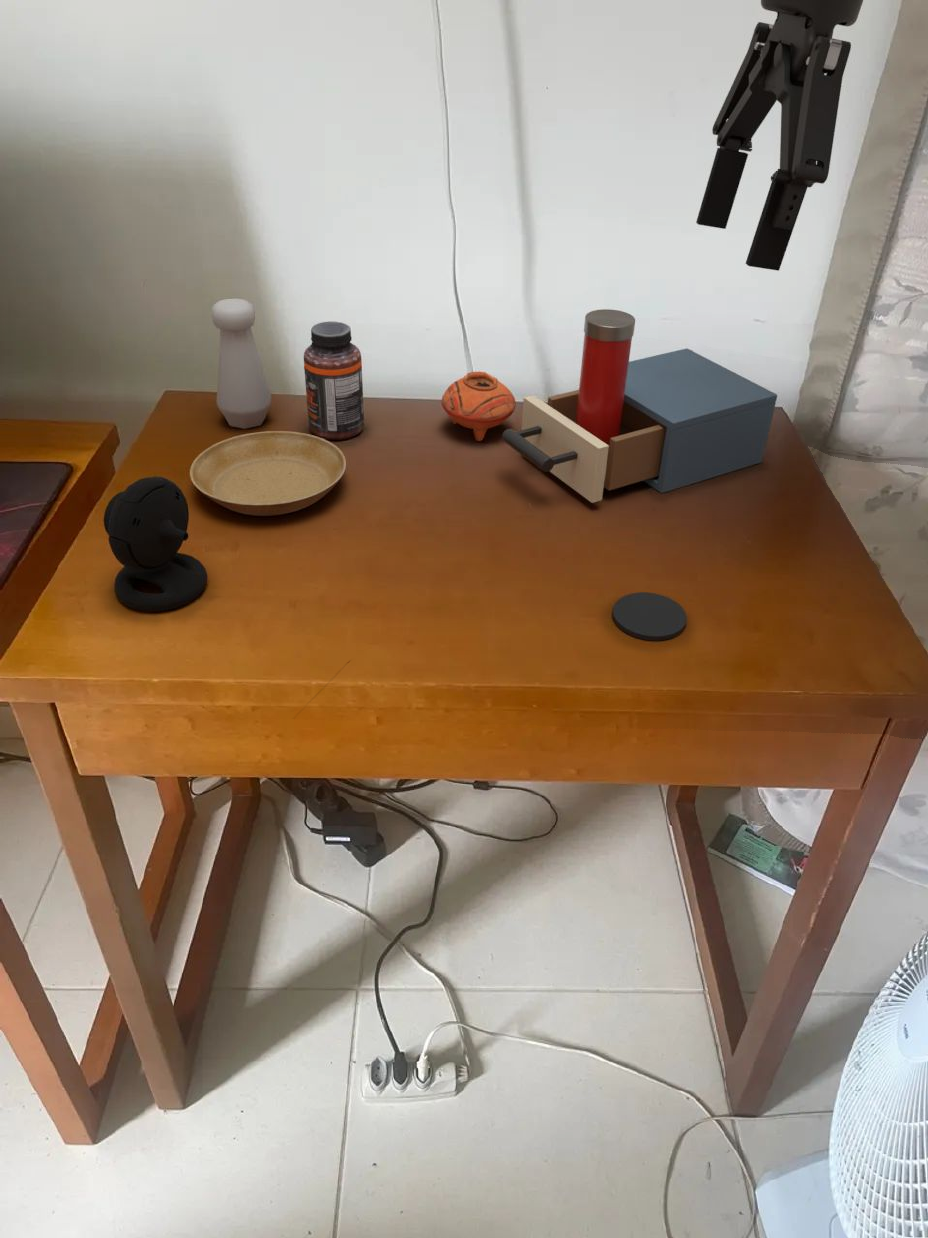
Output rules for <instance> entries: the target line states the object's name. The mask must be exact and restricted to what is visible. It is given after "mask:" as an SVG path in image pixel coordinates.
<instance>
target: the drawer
mask: <svg viewBox="0 0 928 1238" xmlns="http://www.w3.org/2000/svg"><path fill="white" fill-rule="evenodd" d="M578 394H579V389H575V390H572V391H568V392H564V393H563V392H562V393H559V394H554V395H551V396H548V397H547V403H546V402H545V401H543V400H541V399H540V398H538V396H535V395H534V394H533V395H527V396H524V397H523V403H522V415H521V416H522V418H521V430H516V431H515V430H514V429H512V428H507V429H505V430H504V431H503V432H502V434H501V439H502V441H503V442H504V443H505V444H507V446H509V447H511V448H512V449H513V450H514V451H516V452H517V453H518V454H519V455H521V456H522V457H524V458H525V459H526V460H528V461H529V462H530V463H532V464H533V465H534V466H536V467H537V468H538V469H540V470H541V471H543V472H544V473H548V472H550V473H551V475H554V476H555V477H556V478H558V479H559V480H560V481H562V482H563V483H564V484H565V485H567V486H568V487H570V488H571V489H573V491H575V492H576V493H578V494H579V495H580V496H582V497H583V498H585V499H586V500H587V501H588V502H590V503H591V504H594V503H597V502H600V501H602V500H603V495H604V489H606V490H607V491H612V490H617V489H620V488H623V487H626V486H630V485H632V484H637V483H639V482H644V481H643V480H646V479H650V478H653V477H656V476H659V472H660V466H661V460H662V454H663V448H664V442H665V436H666V429H667V427H665V426H664V425H662V424H661V423H659V422H657V421H656V420H654V419H652V418H651V417H649V416H647V415H646V414H644V413H642V412H641V411H639V410H638V409H636V408H634V407H633V406H631V405H629V404H628V403H626V402H623V409H622V417H621V424H620V432H619V436H616V437H612V438H610V445H607V444H606V443H604V442H603V441H601V440H600V439H598V438H597V437H595V436H594V435H592V434H591V433H589V432H588V431H586V430H585V429H583V428H582V427H580V426H579V425H577V424H576V413H577V403H578ZM608 448H609V452H608ZM607 456H608V460H607Z"/></svg>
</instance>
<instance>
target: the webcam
mask: <svg viewBox="0 0 928 1238" xmlns="http://www.w3.org/2000/svg"><path fill="white" fill-rule="evenodd" d="M189 512H190V511H189V504H188V501H187V498H186V496H185V494H184V492H183V491H182V489H181V488H180V487H179V486H178V485H177V484H176V483H175V482H174V481H172V480H170V479H168V478H166V477H162V476H157V475H156V476H155V475H154V476H150V477H149V476H148V477H143V478H139V479H137V480H136V481H134V482H133V483H131V484H129V485H128V486H127V487H126V488H125V489H124V490H122V491H120V492H117V493H116V494H115V495H114V496H113V497H112V498H111V499H110V500H109V502H108V503H107V505H106V507H105V510H104V513H103V527H104V530H105V532H106V534H107V535H108V543H109V547H110V550H111V552H112V554H113V556H114V557H115V559H116V560H117V561H118V563H120V564H121V565H122V566H123V567H122V568H121V569H119V571H118V573H117V574H116V576H115V579H114V584H113V587H114V590H113V591H114V594H115V596H116V597H117V599H118V600H119V601H120V602H121V603H122V604H123V605H125V606H127V607H129V608H130V609H134V610H136V611H141V612H164V611H165V612H166V611H169V610H173V609H177V608H179V607H181V606H184V605H186V604H189V603H190V602H192V601H194V600H195V599H197V598H198V597H199V596H200V595H201V593H203V591H204V590H205V588H206V585H207V582H208V573H207V569H206V567H205V566H204V565H203V563H202V562H201V561H200V560H199V559H197V558H195V557H193V556H192V555H189V554H186V553H181V552H179V550H180V549H181V547H182V545H183V542H186V541H187V540H188V539H189V533H188V528H189V527H188V526H189V521H190V519H189V518H190V517H189V515H190V513H189ZM137 579H140V580H144V581H147V582H150V583H153V584H154V585H156V586H158V587H160V588H161V589H162V591H163V592H159V593H147V592H141V591H139V590H136V589H135V588H134V587H133V584H134V583H135V581H137Z"/></svg>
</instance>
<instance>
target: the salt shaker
mask: <svg viewBox="0 0 928 1238" xmlns="http://www.w3.org/2000/svg"><path fill="white" fill-rule="evenodd" d="M254 307H255V306H254V305H253V304H251V303H250V302H249V301H247V299H242V298H225V299H222V300H218V301H217V302H215V304H214V305H213V306H212V309H211V319H212V324H213V325H214V327H216V328H217V329H218V330H219V347H218V348H219V349H218V352H219V353H218V370H217V371H218V372H217V387H216V406H217V409H218V410H219V411H220V413H221V414H222V415H223V416H224V418H225V420H226V421H227V423H228V425H229V427H234V428H239V429H244V430H246V429H251V428H255V427H259V426H261V425H262V424H263V423H264V421H265V419H266V417H267V414H268V412H269V410H270V407H271V403H272V393H271V391H270V387H269V384H268V380H267V377H266V374H265V371H264V366H263V364H262V360H261V357H260V354H259V351H258V347H257V344H256V339H255V336H254V334H253V331H252V327H253V326H255V322H256V311H255V308H254Z"/></svg>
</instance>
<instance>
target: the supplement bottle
mask: <svg viewBox="0 0 928 1238" xmlns="http://www.w3.org/2000/svg"><path fill="white" fill-rule="evenodd" d="M351 331H352V330H351V327H350V325H348V324H347V323H344V322H340V321H335V320H334V321H330V320H329V321H323V322H319V323H316V324H314V325H312V326H311V329H310V335H311V336H310V337H311V338H310V340H311V344H310V345H308V346H307V348H306V349H305V350H304V352H303V370H304V381H305V392H306V393H305V395H306V406H307V420H308V421H307V422H308V426H309V430H310V432H311V433H312V434H314V436H317V437H319V438H322V439H325V440H333V441H334V440H335V441H337V440H338V441H339V440H340V441H341V440H345V439H351V438H353V437H355V436H357V435H358V434H360V433H361V432H362V430H363V429H364V426H365V425H364V424H365V415H364V413H365V411H364V388H363V387H364V386H363V384H364V383H363V365H362V364H363V363H362V360H363V359H362V353H361V351H360V349H359V347H358V346H356V345H355V344H354V343H352V332H351Z"/></svg>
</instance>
